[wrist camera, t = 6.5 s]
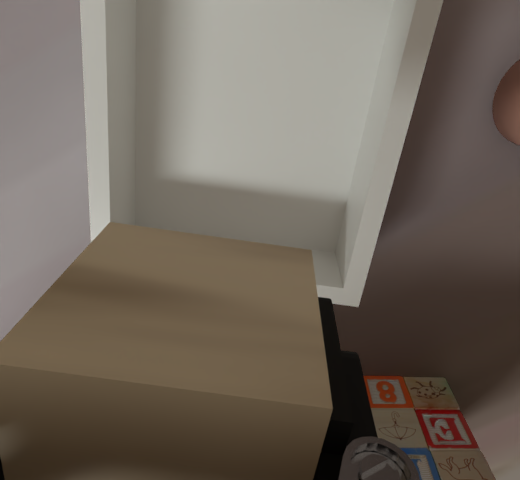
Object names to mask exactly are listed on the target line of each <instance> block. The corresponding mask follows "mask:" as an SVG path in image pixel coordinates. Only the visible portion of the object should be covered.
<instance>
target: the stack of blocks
mask: <svg viewBox="0 0 520 480" xmlns="http://www.w3.org/2000/svg"><path fill="white" fill-rule="evenodd" d="M364 381H365V385H366V389H367V394H368V398H369V402H370V406H371V411H372V415H373V419H374V424H375V428H376V432H377V436H378V438H382V439H385V440H387V441H389V442H391V443H393V444H395V445H396V446H397V447H399V448H400V449H401V450H403V451H404V452H405V453H406V454H407V455H408V457H409V458H410V459H411V460H412V461H413V463H414V465H415V467H416V469H417V471H418V473H419V478H420V480H496V479H495V477H494V475H493V473H492V472H491V470H490V467H489V465H488V463H487V461H486V459H485V457H484V455H483V453H482V452H481V451H480V449H479V447H478V445H477V442H476V440H475V438H474V436H473V434H472V432H471V430H470V428H469V426H468V424H467V422H466V420H465V419H464V417H463V415H462V413H461V412H460V408H459V405H458V403H457V401H456V399H455V397H454V395H453V393H452V391H451V389H450V387H449V385H448V383H447V381H446V379H445V378H443V377H402V376H364Z"/></svg>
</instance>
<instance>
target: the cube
mask: <svg viewBox="0 0 520 480" xmlns="http://www.w3.org/2000/svg"><path fill="white" fill-rule="evenodd" d="M332 410H333V406H332V399H331V391H330V384H329V376H328V369H327V361H326V354H325V346H324V339H323V331H322V324H321V317H320V309H319V302H318V294H317V287H316V279H315V272H314V264H313V257H312V250H308V249H301V248H294V247H287V246H280V245H272V244H265V243H258V242H251V241H244V240H236V239H229V238H222V237H215V236H208V235H200V234H193V233H186V232H179V231H172V230H164V229H157V228H150V227H143V226H135V225H128V224H121V223H114V222H109V224H108V225H107V226H106V227H105V228H104V229H103V230H102V231H101V232H100V233H99V234H98V236H97V237H96V238H95V239H94V240H93V241H92V242H91V243H90V244H89V245H88V247H87V248H86V249H85V250H84V251H83V252H82V253H81V254H80V255H79V256H78V257H77V259H76V260H75V261H74V262H73V263H72V264H71V265H70V266H69V267H68V268H67V269H66V271H65V272H64V273H63V274H62V275H61V276H60V277H59V278H58V279H57V280H56V281H55V283H54V284H53V285H52V286H51V287H50V288H49V289H48V290H47V291H46V292H45V294H44V295H43V296H42V297H41V298H40V299H39V300H38V301H37V302H36V303H35V304H34V306H33V307H32V308H31V309H30V310H29V311H28V312H27V313H26V314H25V315H24V316H23V318H22V319H21V320H20V321H19V322H18V323H17V324H16V325H15V326H14V327H13V329H12V330H11V331H10V332H9V333H8V334H7V335H6V336H5V337H4V338H3V339H2V341H1V342H0V458H1V463H2V468H3V473H4V478H5V480H313V478H314V474H315V471H316V467H317V464H318V460H319V456H320V453H321V449H322V446H323V442H324V439H325V435H326V432H327V428H328V425H329V421H330V417H331V414H332Z"/></svg>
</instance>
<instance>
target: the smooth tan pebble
mask: <svg viewBox="0 0 520 480" xmlns="http://www.w3.org/2000/svg"><path fill="white" fill-rule="evenodd" d="M493 118H494V122H495V125H496V127H497V129H498V130H499V132H500V133H501V134H502V135H503V136H504V137H505V138H506V139H507V140H509V141H511V142H513V143H515V144H517V145H519V146H520V60H518V61H517V62H516V63H515V64H514V65H513V66H512V67H511V68H510V69H509V70H508V71H507V72H506V74H505V75H504V77H503V78H502V79H501V81H500V83H499V85H498V87H497V90H496V92H495V96H494V100H493Z"/></svg>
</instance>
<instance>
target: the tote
mask: <svg viewBox="0 0 520 480" xmlns="http://www.w3.org/2000/svg"><path fill="white" fill-rule="evenodd" d="M442 4H443V0H80V13H81V35H82V57H83V79H84V101H85V123H86V145H87V167H88V189H89V211H90V232H91V242H92V241H93V240H94V239H95V238H96V237H97V236H98V234H99V233H100V232H101V231H102V230H103V229H104V228H105V227H106V226H107V225H108V224H109V222H114V223H121V224H128V225H135V226H143V227H150V228H157V229H164V230H172V231H179V232H186V233H193V234H200V235H208V236H215V237H222V238H229V239H236V240H244V241H251V242H258V243H265V244H272V245H280V246H287V247H294V248H301V249H308V250H312V257H313V264H314V272H315V279H316V287H317V294H318V297H323V298H330V299H331V300H332V304H339V305H346V306H354V307H359V303H360V300H361V296H362V293H363V289H364V285H365V282H366V278H367V275H368V271H369V267H370V264H371V260H372V257H373V253H374V249H375V246H376V242H377V238H378V235H379V231H380V228H381V224H382V220H383V217H384V213H385V210H386V206H387V202H388V199H389V195H390V192H391V188H392V184H393V181H394V177H395V173H396V170H397V166H398V163H399V159H400V155H401V152H402V148H403V145H404V141H405V137H406V134H407V130H408V127H409V123H410V119H411V116H412V112H413V108H414V105H415V101H416V98H417V94H418V90H419V87H420V83H421V80H422V76H423V72H424V69H425V65H426V62H427V58H428V54H429V51H430V47H431V44H432V40H433V36H434V33H435V29H436V25H437V22H438V18H439V15H440V11H441V7H442Z"/></svg>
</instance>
